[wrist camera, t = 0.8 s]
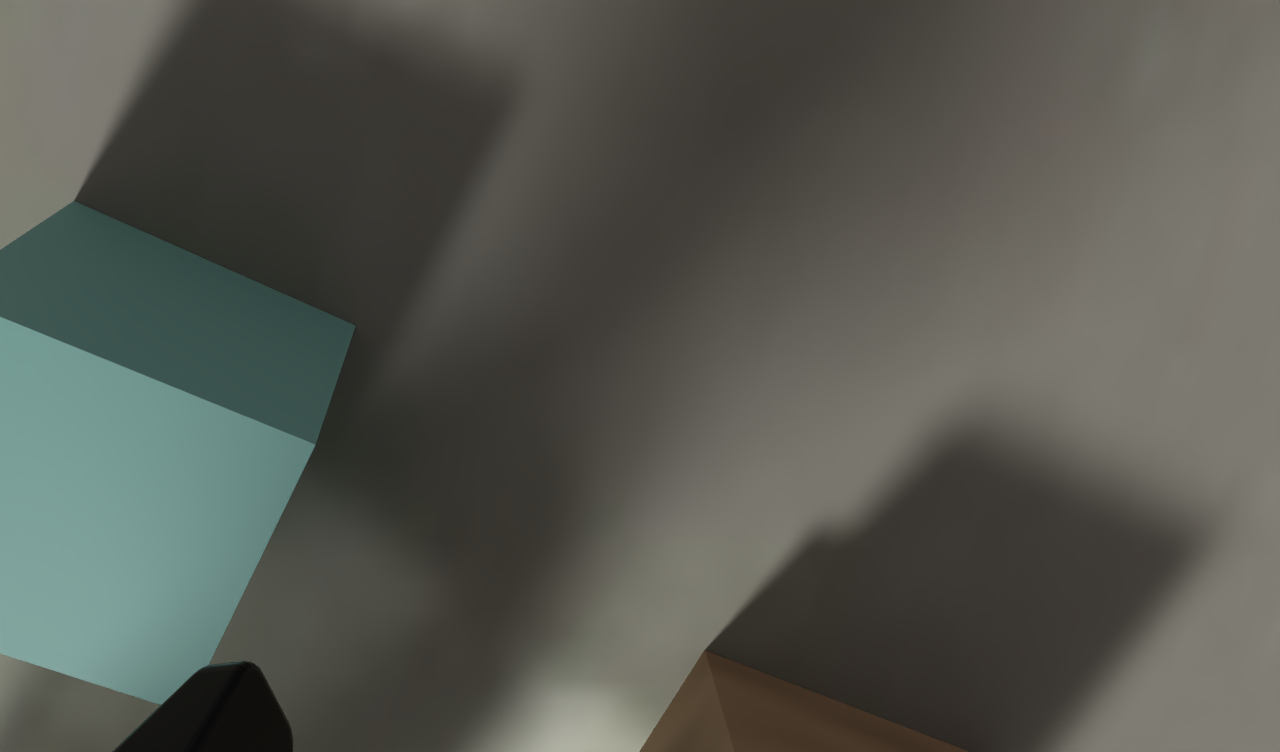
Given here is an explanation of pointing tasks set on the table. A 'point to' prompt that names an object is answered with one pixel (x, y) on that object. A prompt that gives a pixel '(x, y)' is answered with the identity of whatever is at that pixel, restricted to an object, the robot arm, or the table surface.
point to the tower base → (771, 718)
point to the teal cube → (143, 445)
